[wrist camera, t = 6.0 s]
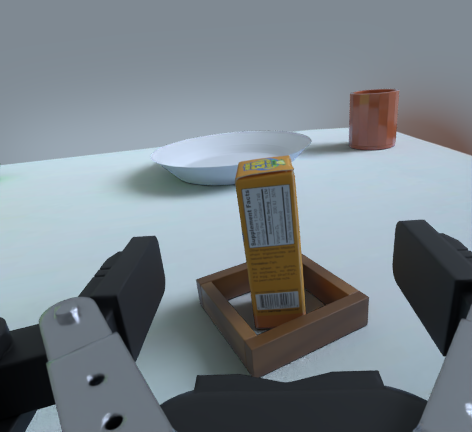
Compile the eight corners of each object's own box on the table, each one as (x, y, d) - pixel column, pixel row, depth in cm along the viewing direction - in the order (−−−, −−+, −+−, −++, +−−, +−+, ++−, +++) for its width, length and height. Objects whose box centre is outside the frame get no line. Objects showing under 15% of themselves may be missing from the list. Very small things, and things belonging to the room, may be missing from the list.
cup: (404, 144, 62) (409, 88, 58) (371, 152, 59) (374, 94, 55) (371, 138, 68) (373, 88, 65) (339, 145, 65) (340, 93, 62)
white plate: (311, 146, 67) (311, 127, 65) (312, 191, 44) (311, 162, 43) (183, 153, 72) (181, 135, 71) (126, 196, 49) (120, 171, 48)
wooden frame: (367, 324, 22) (369, 297, 21) (254, 380, 19) (251, 350, 18) (292, 269, 28) (291, 246, 27) (199, 303, 25) (195, 279, 24)
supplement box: (251, 299, 25) (237, 157, 21) (301, 296, 25) (296, 152, 21) (250, 331, 22) (233, 173, 18) (307, 329, 22) (302, 168, 18)
